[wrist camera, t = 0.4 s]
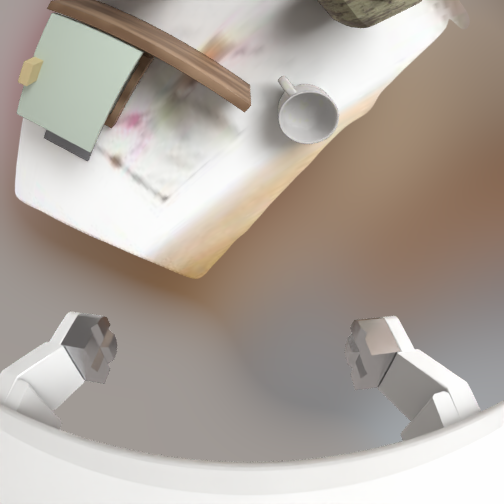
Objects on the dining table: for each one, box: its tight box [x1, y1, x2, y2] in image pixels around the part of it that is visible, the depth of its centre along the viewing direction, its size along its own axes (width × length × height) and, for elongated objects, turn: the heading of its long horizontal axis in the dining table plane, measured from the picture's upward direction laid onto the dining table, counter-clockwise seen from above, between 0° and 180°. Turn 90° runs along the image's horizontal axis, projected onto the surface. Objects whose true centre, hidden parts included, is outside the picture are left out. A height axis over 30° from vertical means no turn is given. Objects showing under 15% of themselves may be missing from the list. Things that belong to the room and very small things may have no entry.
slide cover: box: [17, 13, 144, 152], centre depth 32 cm, size 20×19×4 cm
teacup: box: [278, 76, 339, 144], centre depth 47 cm, size 14×11×8 cm
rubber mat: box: [44, 129, 92, 161], centre depth 51 cm, size 10×14×1 cm
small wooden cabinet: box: [47, 0, 251, 128], centre depth 40 cm, size 22×39×13 cm, turn 51°
